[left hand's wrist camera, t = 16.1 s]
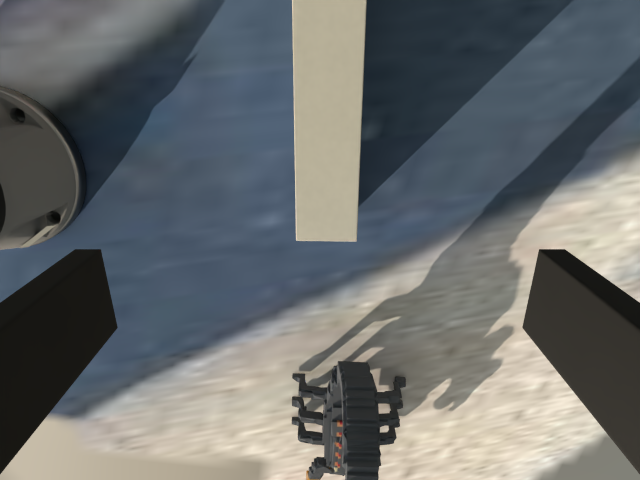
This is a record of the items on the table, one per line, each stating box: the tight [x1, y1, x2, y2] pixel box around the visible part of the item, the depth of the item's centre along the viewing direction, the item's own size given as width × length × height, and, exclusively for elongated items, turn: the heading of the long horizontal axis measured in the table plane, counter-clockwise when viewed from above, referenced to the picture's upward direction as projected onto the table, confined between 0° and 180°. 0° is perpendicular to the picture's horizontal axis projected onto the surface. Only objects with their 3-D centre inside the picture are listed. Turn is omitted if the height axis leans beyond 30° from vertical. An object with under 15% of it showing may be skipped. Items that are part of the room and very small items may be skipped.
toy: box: [292, 361, 406, 480], centre depth 42 cm, size 13×27×18 cm, turn 178°
